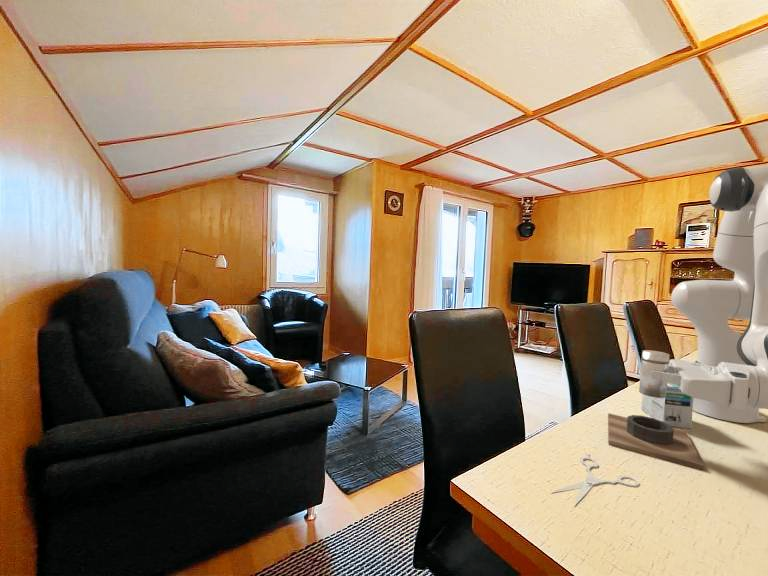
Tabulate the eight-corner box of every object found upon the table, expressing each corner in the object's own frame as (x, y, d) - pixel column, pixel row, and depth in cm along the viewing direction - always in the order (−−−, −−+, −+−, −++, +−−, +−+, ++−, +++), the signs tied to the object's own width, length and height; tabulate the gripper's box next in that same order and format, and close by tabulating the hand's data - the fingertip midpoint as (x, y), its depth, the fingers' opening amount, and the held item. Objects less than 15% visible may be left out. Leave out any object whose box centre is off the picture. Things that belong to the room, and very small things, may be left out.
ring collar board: (608, 416, 91) (609, 402, 90) (685, 434, 82) (686, 419, 82) (608, 444, 76) (609, 427, 76) (702, 470, 67) (704, 451, 67)
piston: (637, 388, 82) (640, 349, 81) (664, 393, 79) (667, 352, 78) (639, 394, 77) (643, 353, 77) (668, 399, 75) (671, 356, 74)
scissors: (644, 479, 63) (594, 518, 52) (644, 483, 63) (594, 523, 52) (586, 452, 72) (532, 480, 61) (586, 455, 72) (532, 484, 61)
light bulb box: (692, 429, 85) (696, 388, 84) (662, 426, 86) (666, 386, 86) (665, 412, 95) (669, 375, 95) (639, 409, 97) (642, 373, 96)
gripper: (719, 359, 79) (646, 349, 87) (749, 381, 62) (655, 367, 70) (716, 384, 79) (644, 372, 87) (746, 413, 62) (653, 396, 70)
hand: (649, 370), depth 78 cm, fingers closed on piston, 5 cm apart
